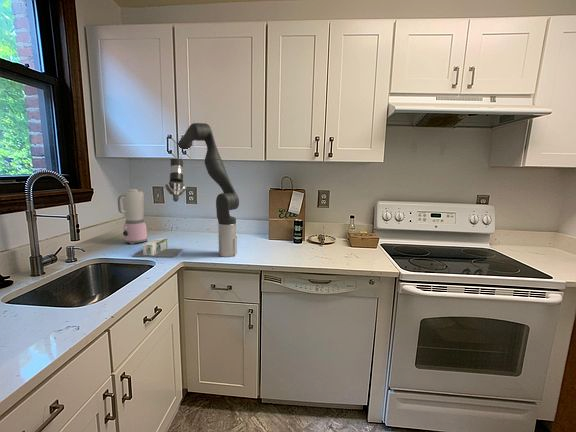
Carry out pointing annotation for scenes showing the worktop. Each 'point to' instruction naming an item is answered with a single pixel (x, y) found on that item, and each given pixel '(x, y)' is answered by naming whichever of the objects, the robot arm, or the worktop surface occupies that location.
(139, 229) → the blender
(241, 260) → the worktop surface
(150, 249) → the syrup box
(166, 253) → the slate mat
